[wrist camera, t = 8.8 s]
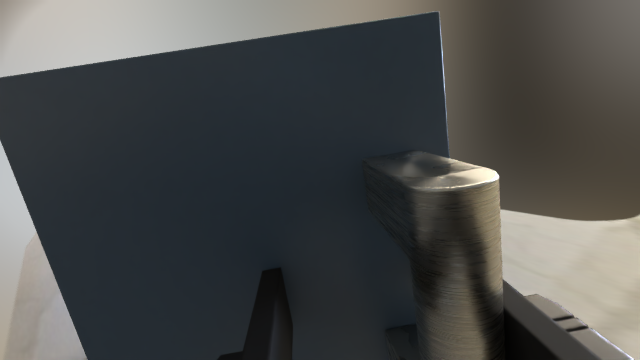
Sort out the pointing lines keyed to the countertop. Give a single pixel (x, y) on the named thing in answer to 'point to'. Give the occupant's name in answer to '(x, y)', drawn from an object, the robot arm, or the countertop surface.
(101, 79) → the freezer door
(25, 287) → the countertop surface
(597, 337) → the robot arm
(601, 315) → the countertop surface
